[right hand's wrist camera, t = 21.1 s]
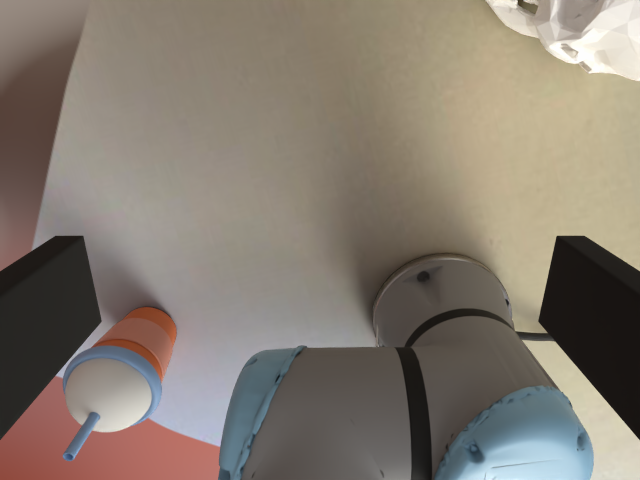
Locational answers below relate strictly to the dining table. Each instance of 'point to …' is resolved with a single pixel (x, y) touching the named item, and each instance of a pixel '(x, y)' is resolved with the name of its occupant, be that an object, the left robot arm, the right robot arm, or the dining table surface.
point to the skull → (581, 31)
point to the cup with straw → (119, 375)
